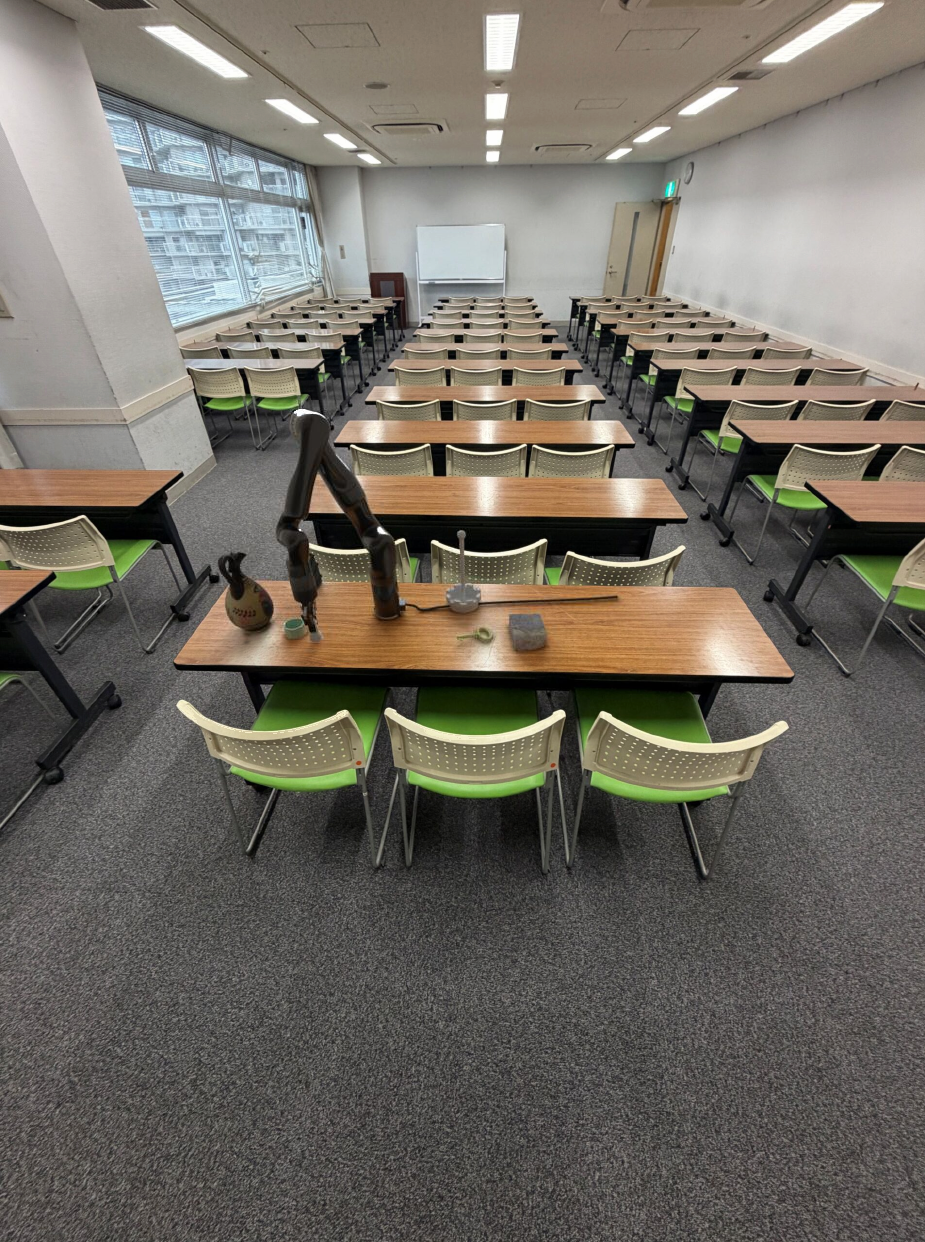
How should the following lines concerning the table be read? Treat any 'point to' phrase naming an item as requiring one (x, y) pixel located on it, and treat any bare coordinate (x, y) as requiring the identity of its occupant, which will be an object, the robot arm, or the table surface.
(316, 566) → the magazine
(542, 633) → the geological specimen
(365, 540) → the robot arm
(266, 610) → the ceramic jug
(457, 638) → the key
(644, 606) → the table surface
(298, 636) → the cup
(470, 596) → the flag stand
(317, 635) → the rook chess piece
